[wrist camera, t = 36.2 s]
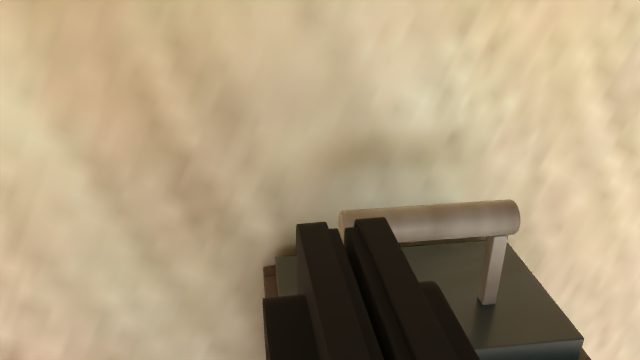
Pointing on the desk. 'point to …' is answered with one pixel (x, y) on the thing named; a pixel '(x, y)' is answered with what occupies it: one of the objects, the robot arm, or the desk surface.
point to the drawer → (473, 277)
